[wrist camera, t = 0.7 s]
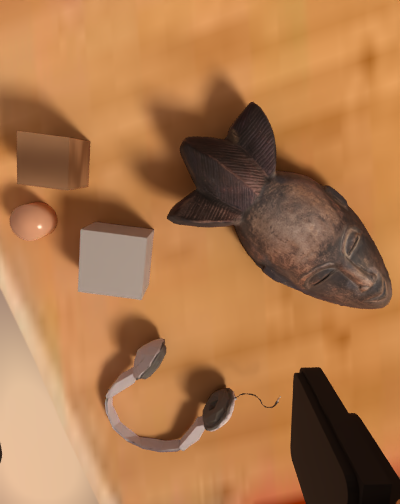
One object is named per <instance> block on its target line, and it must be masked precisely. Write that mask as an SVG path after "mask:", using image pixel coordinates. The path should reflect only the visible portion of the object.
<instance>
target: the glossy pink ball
mask: <svg viewBox="0 0 400 504" xmlns="http://www.w3.org/2000/svg"><path fill="white" fill-rule="evenodd" d="M10 226H11V228H12V230H13V232H14V233H15V234H16V235H17V236H18V237H19V238H21V239H23V240H27V241H33V240H37V239H39V238H41V237H44V236H46V235H48V234H50V233H52V232H53V231H54V230H55V228H56V226H57V216H56V213H55V211H54V210H53V209H52V208H51V207H50V206H49V205H48V204H46V203H43V202H34V203H30V204H25V205H21V206H18V207H17V208H15V209H14V210H13V211H12V213H11V216H10Z"/></svg>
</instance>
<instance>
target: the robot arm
mask: <svg viewBox="0 0 400 504" xmlns="http://www.w3.org/2000/svg"><path fill="white" fill-rule="evenodd" d="M291 457H292V461H293V464H294V468H295V471H296V474H297V477H298V480H299V483H300V486H301V490H302V493H303V496H304V499H305V502H306V504H400V479H399V477H398V476H397V474H396V473H395V471H394V470H393V468H392V466H391V465H390V463H389V462H388V460H387V459H386V457H385V456H384V454H383V453H382V451H381V449H380V448H379V446H378V445H377V443H376V442H375V440H374V439H373V437H372V436H371V434H370V432H369V431H368V429H367V428H366V426H365V425H364V423H363V422H362V420H361V419H360V417H359V416H358V415H357V414H355V413H348V412H347V410H346V408H345V407H344V405H343V403H342V402H341V400H340V399H339V397H338V395H337V394H336V392H335V390H334V389H333V387H332V385H331V384H330V382H329V381H328V379H327V377H326V376H325V374H324V372H323V371H322V369H321V368H319V367H315V368H301V369H300V373H294V380H293V402H292V424H291ZM1 458H2V451H1V445H0V462H1Z"/></svg>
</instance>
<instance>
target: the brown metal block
mask: <svg viewBox="0 0 400 504" xmlns="http://www.w3.org/2000/svg"><path fill="white" fill-rule="evenodd" d="M89 160H90V141H85V140H80V139H74V138H69V137H62V136H54V135H46V134H39V133H31V132H23V131H17V184H22V185H29V186H37V187H45V188H52V189H60V190H73V189H78V188H84V187H88V183H89Z"/></svg>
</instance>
